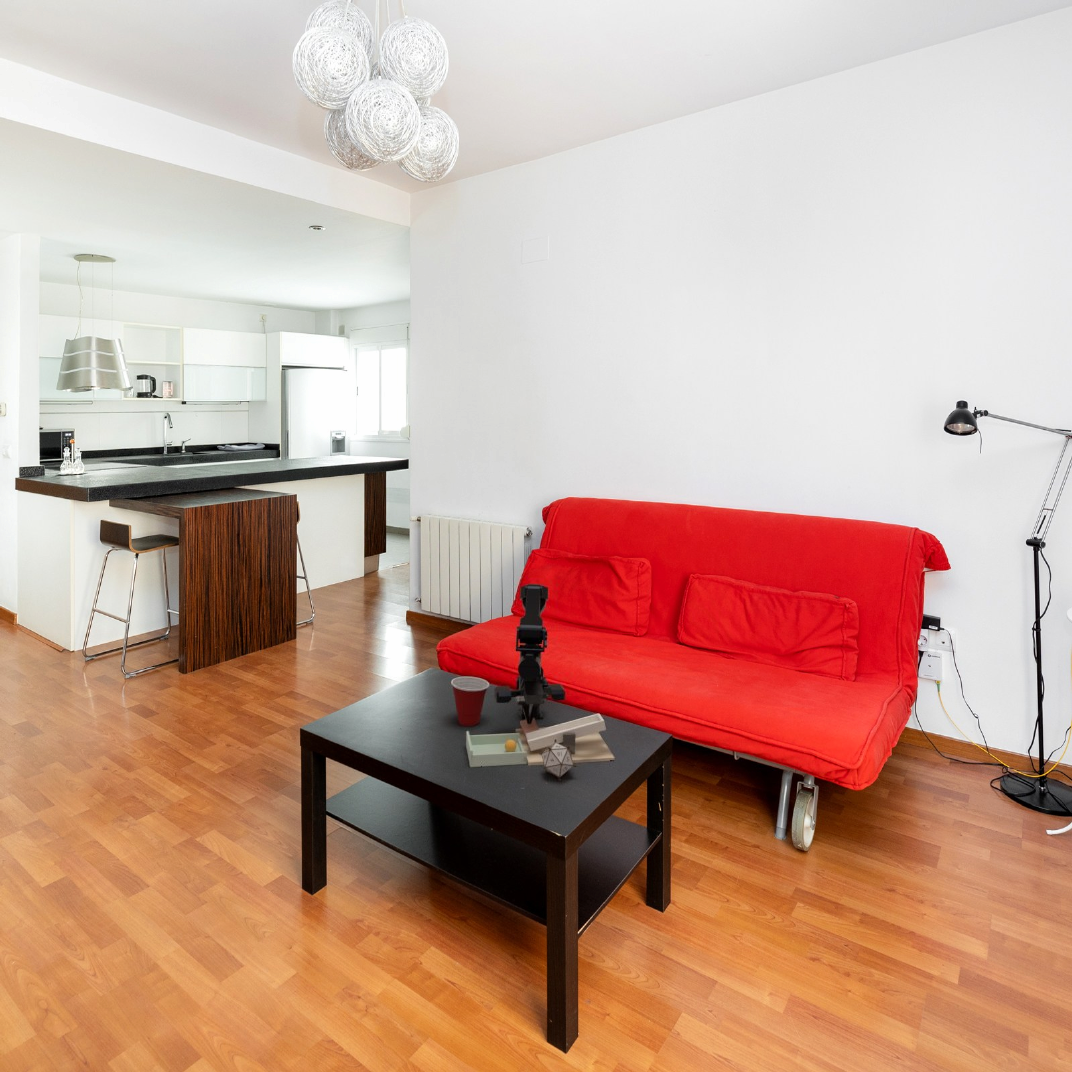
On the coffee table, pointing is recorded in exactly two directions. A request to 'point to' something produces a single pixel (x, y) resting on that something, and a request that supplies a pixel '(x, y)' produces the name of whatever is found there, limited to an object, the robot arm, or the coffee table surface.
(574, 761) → the lever stand
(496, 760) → the tray
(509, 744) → the ball
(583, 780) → the coffee table surface
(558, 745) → the game die
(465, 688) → the plastic cup
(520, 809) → the coffee table surface
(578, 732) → the lever
